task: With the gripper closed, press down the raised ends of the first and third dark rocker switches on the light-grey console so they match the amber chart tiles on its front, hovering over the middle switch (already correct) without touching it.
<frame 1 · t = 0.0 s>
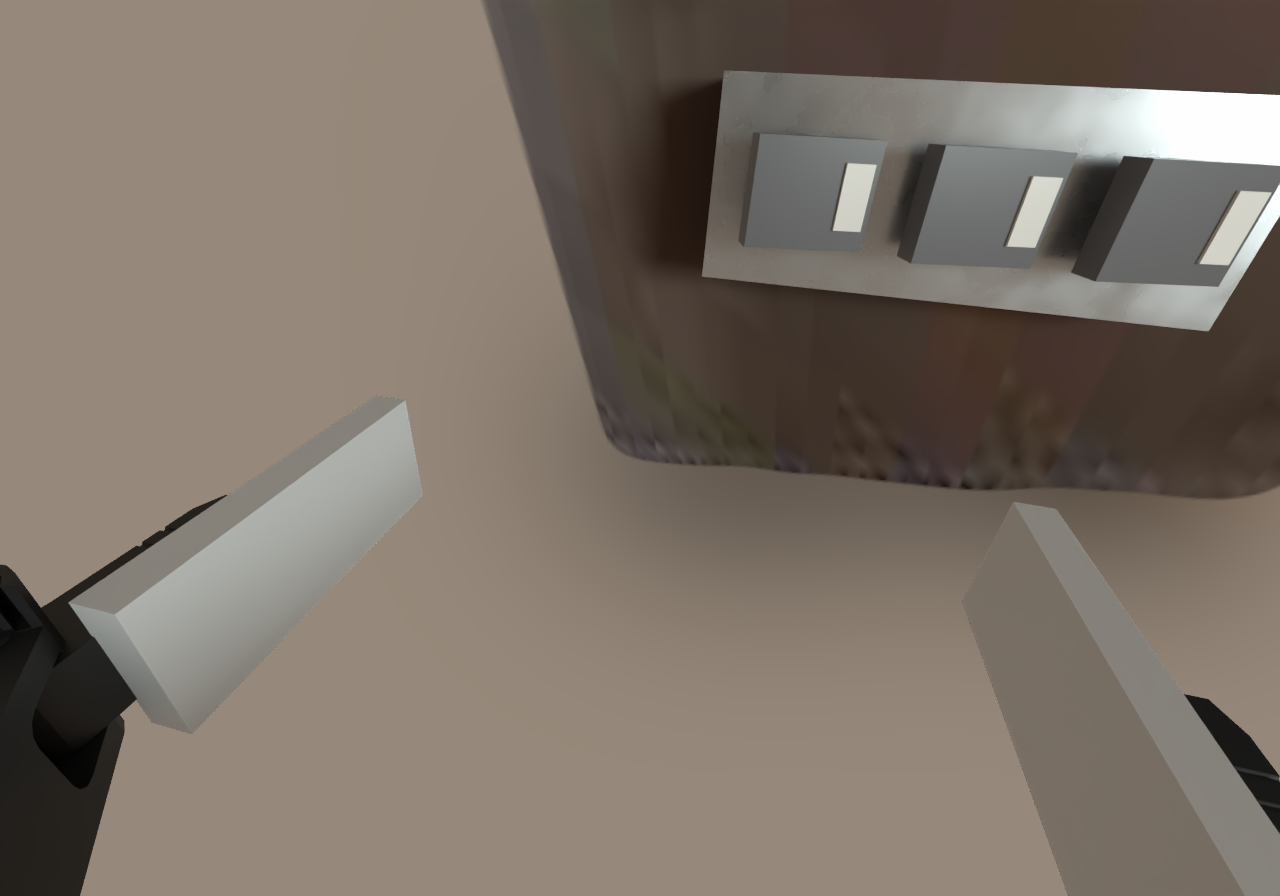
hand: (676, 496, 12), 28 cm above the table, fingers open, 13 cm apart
console: (946, 191, 32), on the table
switch 2: (981, 208, 26), point 7 cm above the table, hinge at -15.0°
switch 1: (808, 194, 27), point 7 cm above the table, hinge at -15.0°
switch 3: (1174, 223, 25), point 7 cm above the table, hinge at -15.0°
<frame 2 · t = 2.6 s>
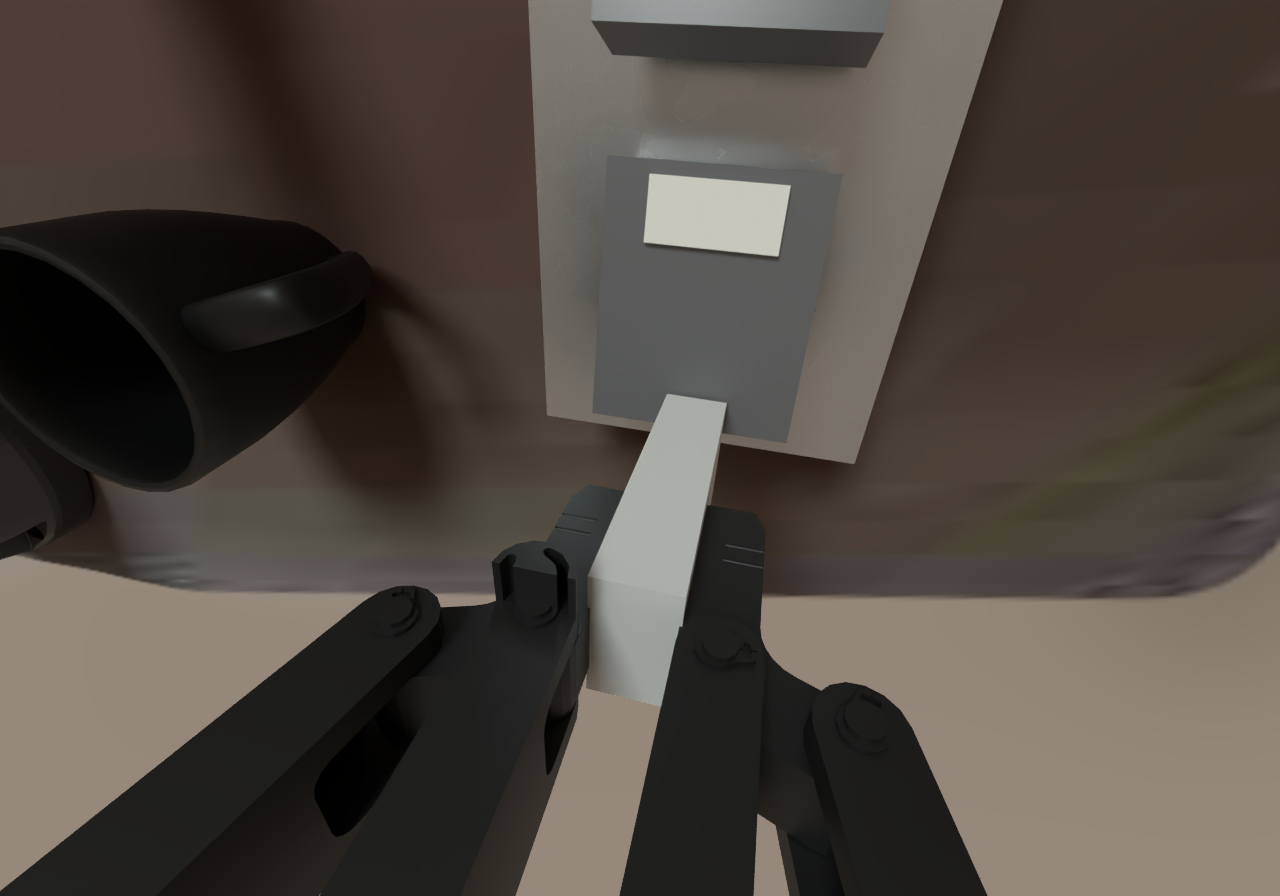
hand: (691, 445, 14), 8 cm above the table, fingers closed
switch 1: (705, 304, 13), point 7 cm above the table, hinge at -10.0°, touching gripper
mug: (344, 277, 23), on the table
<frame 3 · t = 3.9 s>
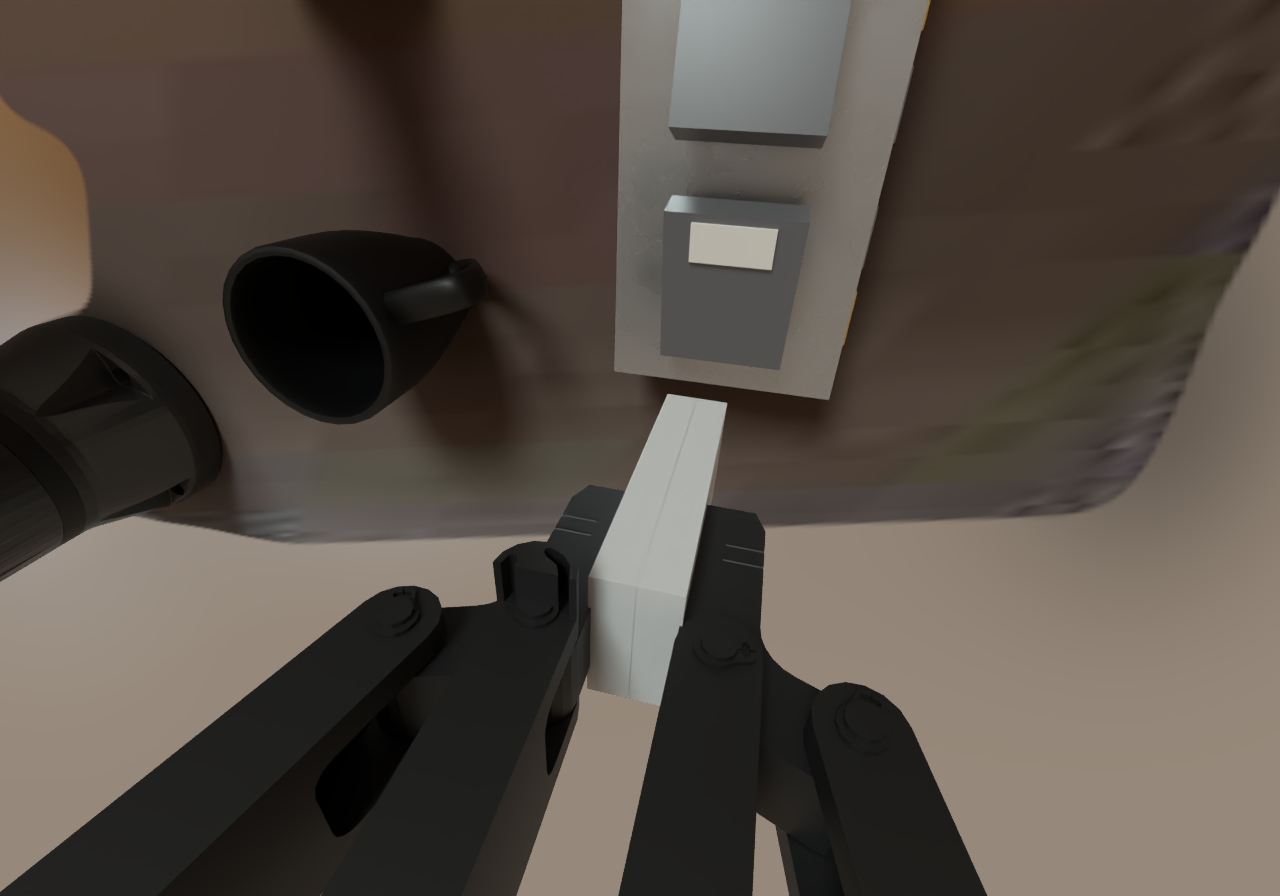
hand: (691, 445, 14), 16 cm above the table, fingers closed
console: (767, 52, 23), on the table
switch 2: (761, 30, 17), point 7 cm above the table, hinge at -15.0°
switch 1: (728, 288, 21), point 7 cm above the table, hinge at 12.2°
mug: (453, 279, 32), on the table
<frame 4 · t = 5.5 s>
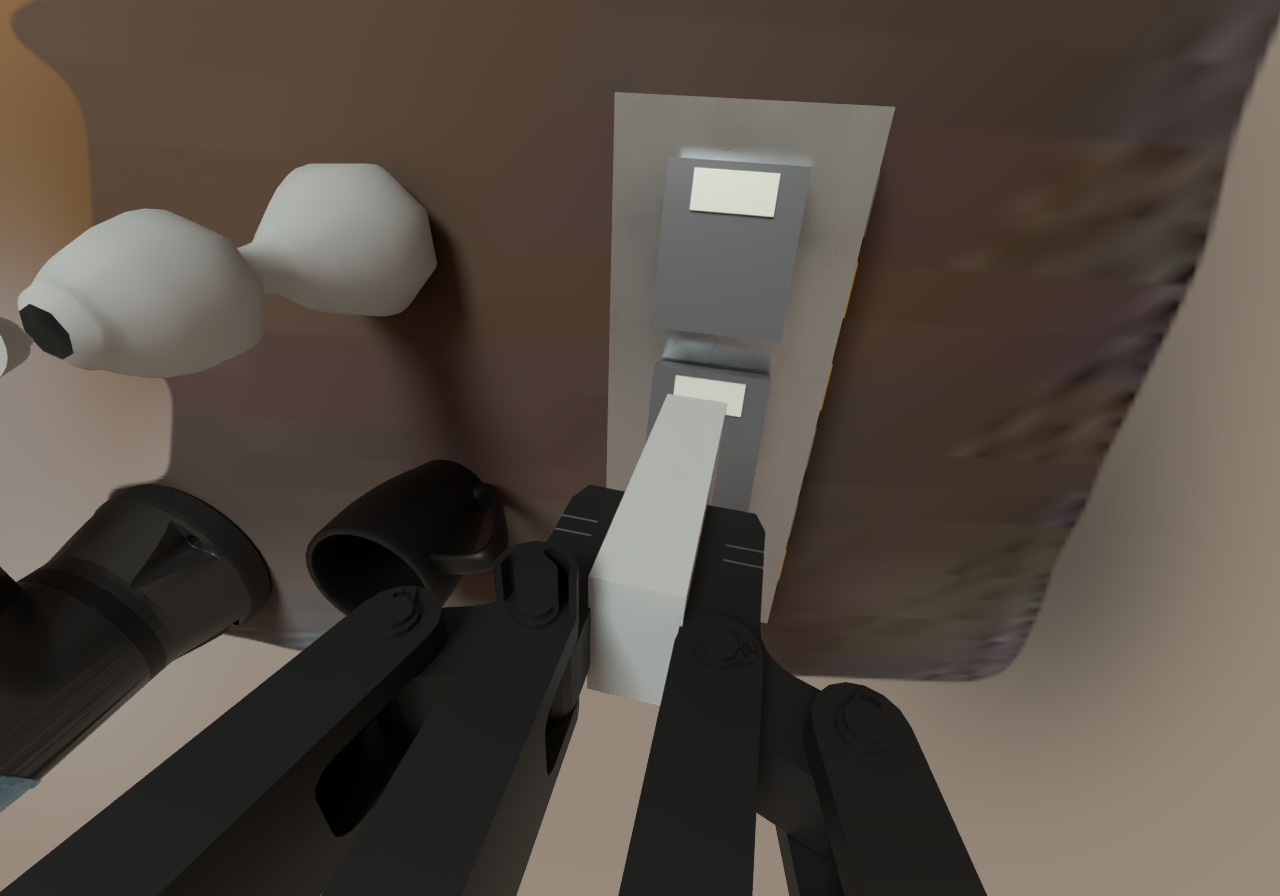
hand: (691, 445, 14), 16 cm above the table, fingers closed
console: (718, 377, 31), on the table
switch 2: (703, 436, 25), point 7 cm above the table, hinge at -15.0°
mug: (475, 487, 39), on the table
switch 3: (726, 253, 21), point 7 cm above the table, hinge at -15.0°
figurine: (394, 231, 31), on the table
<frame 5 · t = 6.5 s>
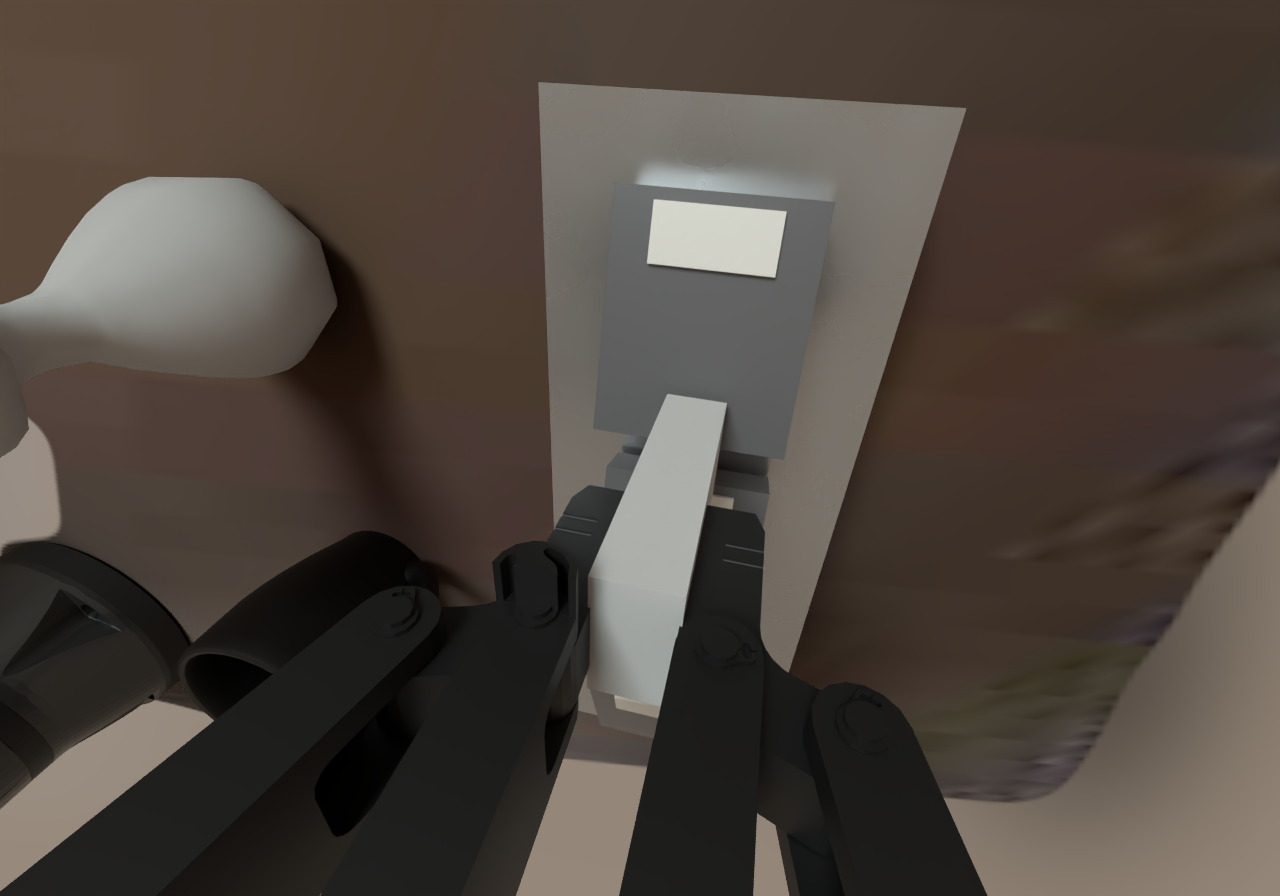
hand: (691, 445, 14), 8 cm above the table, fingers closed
console: (702, 451, 24), on the table
switch 2: (676, 557, 18), point 7 cm above the table, hinge at -15.0°
switch 1: (658, 703, 22), point 7 cm above the table, hinge at 18.8°
mug: (412, 562, 32), on the table
switch 3: (705, 324, 14), point 7 cm above the table, hinge at -14.5°, touching gripper
figurine: (286, 262, 24), on the table
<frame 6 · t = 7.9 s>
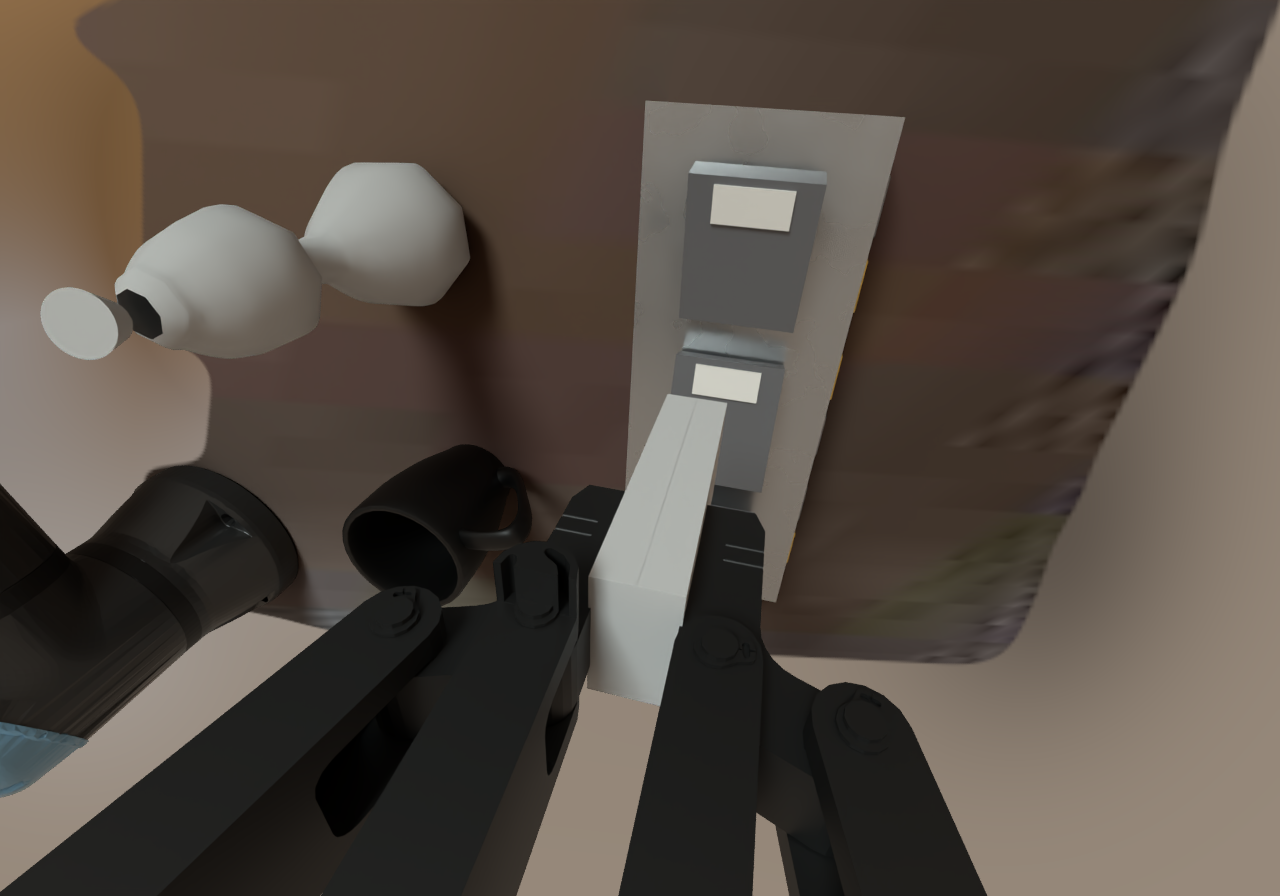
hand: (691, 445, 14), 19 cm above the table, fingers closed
console: (733, 367, 32), on the table
switch 2: (720, 421, 27), point 7 cm above the table, hinge at -15.0°
switch 1: (701, 546, 31), point 7 cm above the table, hinge at 19.4°
mug: (498, 471, 41), on the table
switch 3: (746, 251, 23), point 7 cm above the table, hinge at 10.9°
figurine: (429, 227, 33), on the table
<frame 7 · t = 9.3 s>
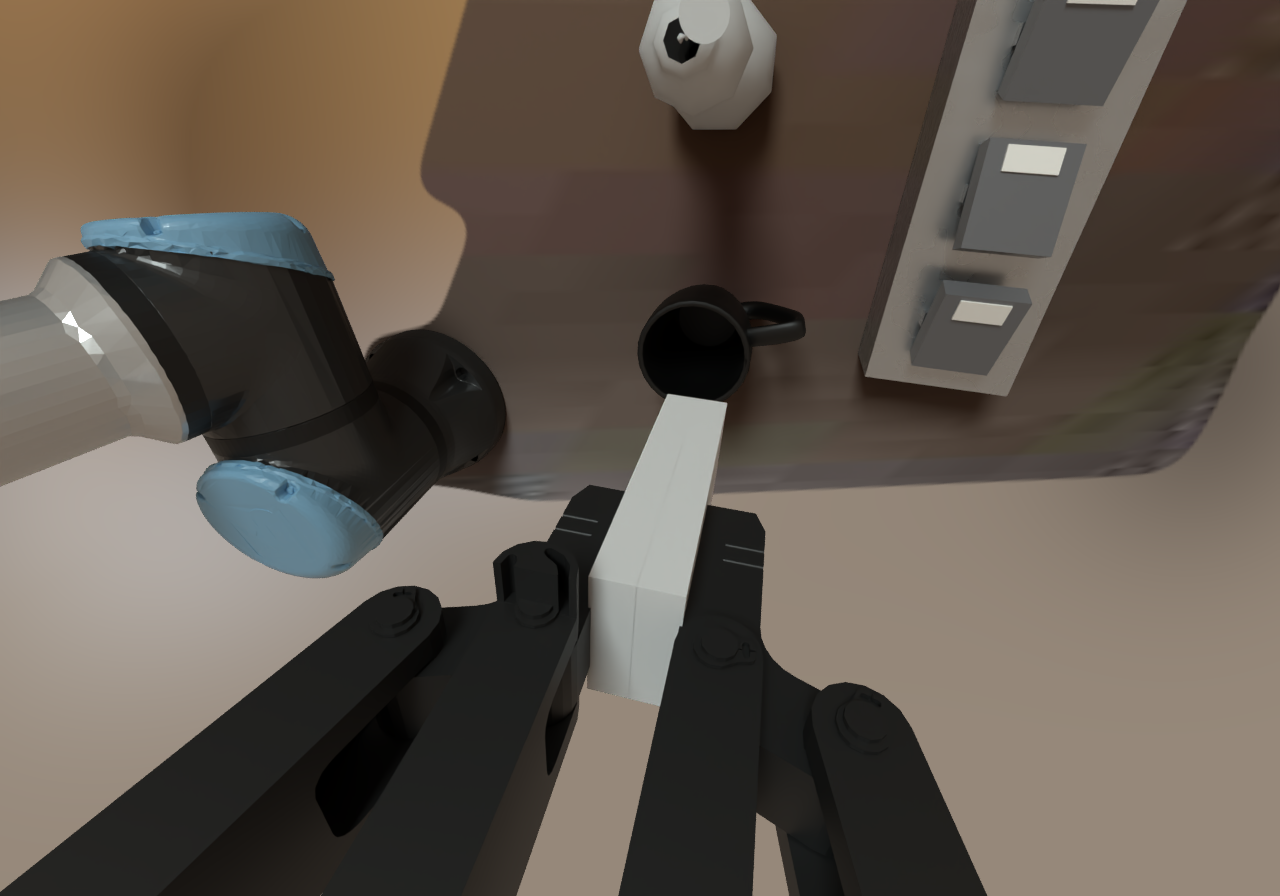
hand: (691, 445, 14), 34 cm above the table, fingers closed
console: (981, 188, 38), on the table
switch 2: (1015, 200, 33), point 7 cm above the table, hinge at -15.0°
switch 1: (965, 330, 37), point 7 cm above the table, hinge at 19.6°
mug: (730, 312, 47), on the table
switch 3: (1080, 33, 28), point 7 cm above the table, hinge at 15.5°
figurine: (722, 69, 39), on the table
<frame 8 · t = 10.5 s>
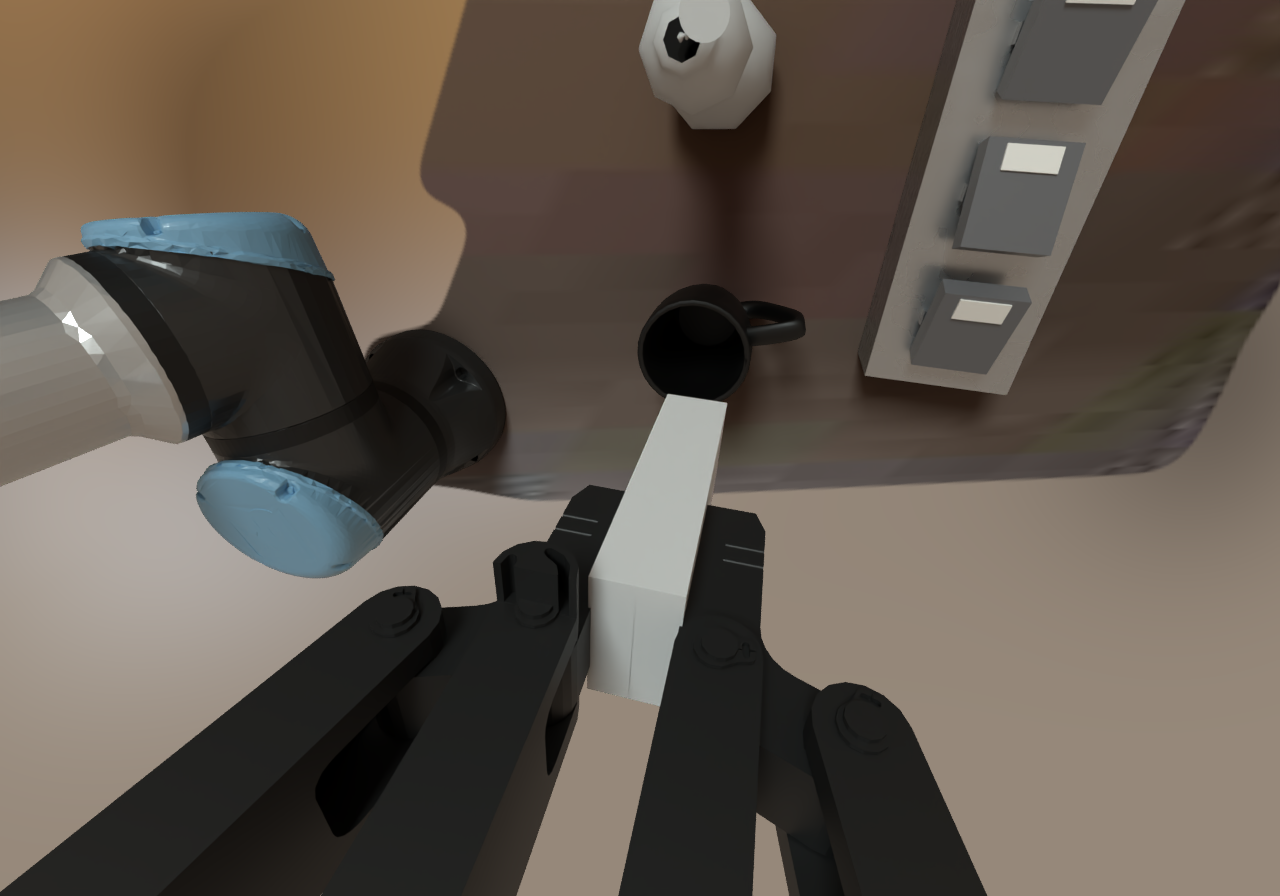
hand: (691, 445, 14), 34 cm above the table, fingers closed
console: (981, 187, 38), on the table
switch 2: (1015, 198, 33), point 7 cm above the table, hinge at -15.0°
switch 1: (965, 329, 37), point 7 cm above the table, hinge at 19.6°
mug: (730, 311, 47), on the table
switch 3: (1078, 32, 29), point 7 cm above the table, hinge at 16.8°
figurine: (722, 68, 39), on the table
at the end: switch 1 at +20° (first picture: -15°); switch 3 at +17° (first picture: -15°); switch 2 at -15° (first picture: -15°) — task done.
